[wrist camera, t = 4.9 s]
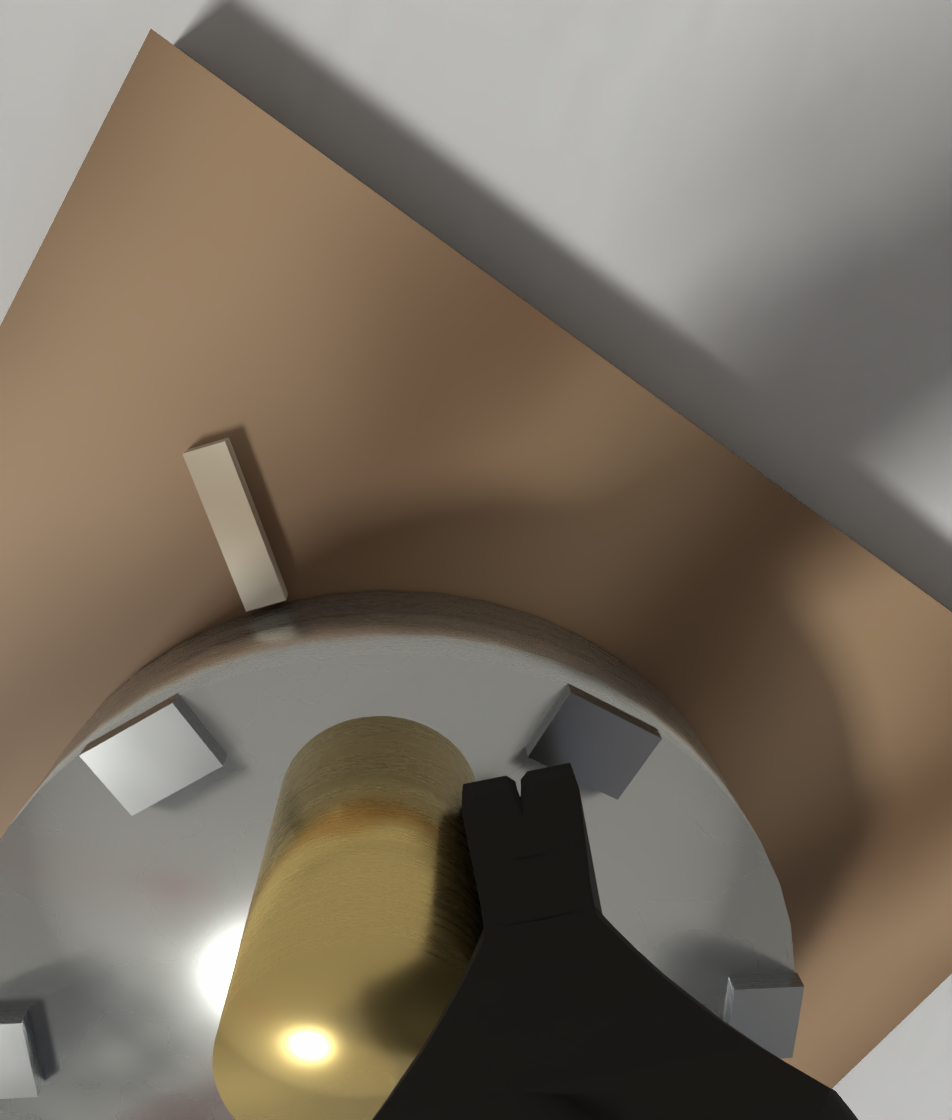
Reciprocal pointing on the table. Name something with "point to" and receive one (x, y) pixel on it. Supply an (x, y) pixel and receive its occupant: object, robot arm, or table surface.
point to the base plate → (441, 511)
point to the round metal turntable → (344, 859)
